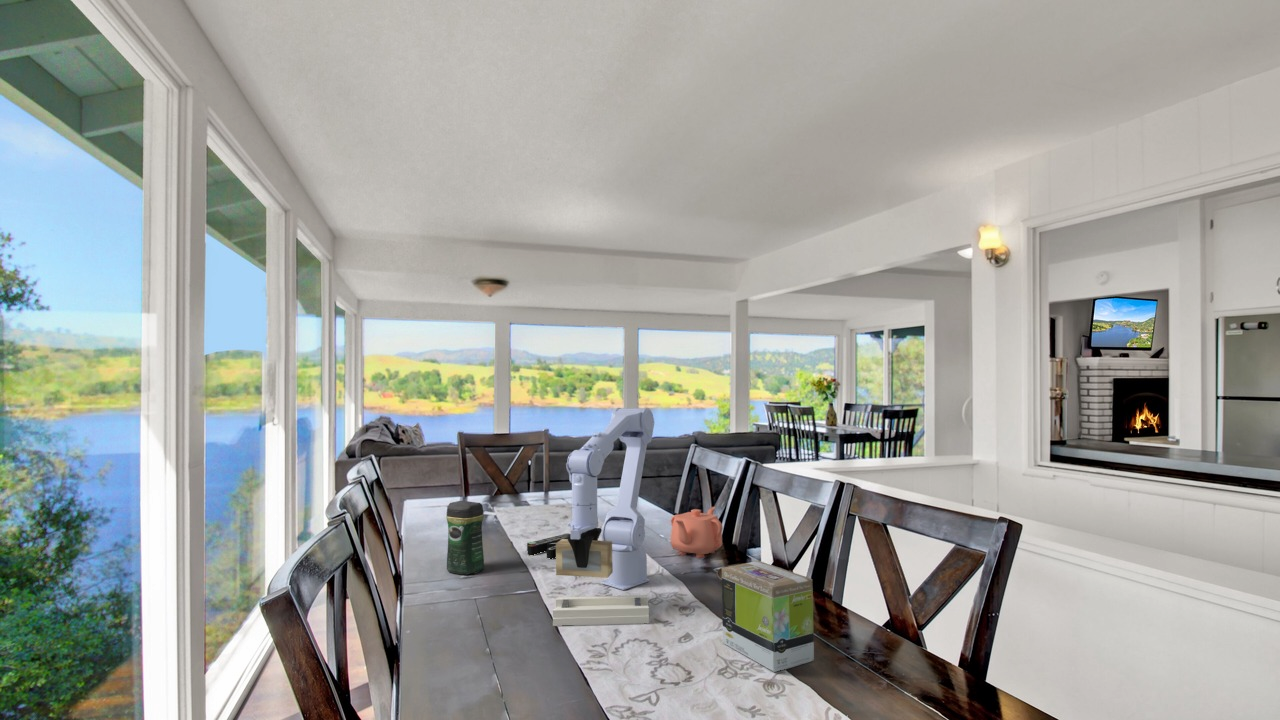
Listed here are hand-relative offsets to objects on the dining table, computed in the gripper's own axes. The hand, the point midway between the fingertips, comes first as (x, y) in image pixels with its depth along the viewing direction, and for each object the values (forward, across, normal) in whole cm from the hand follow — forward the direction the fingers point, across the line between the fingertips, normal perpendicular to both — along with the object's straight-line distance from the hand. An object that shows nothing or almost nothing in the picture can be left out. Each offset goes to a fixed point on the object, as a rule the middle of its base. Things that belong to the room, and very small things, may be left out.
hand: (585, 564), depth 143 cm
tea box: (+10, +16, +40) cm, 45 cm away
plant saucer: (+10, -22, +36) cm, 43 cm away
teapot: (+10, -48, +19) cm, 52 cm away
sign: (+10, -40, -14) cm, 44 cm away
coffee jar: (+10, -21, -40) cm, 46 cm away
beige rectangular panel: (+2, 0, 0) cm, 2 cm away
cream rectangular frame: (+10, +5, +5) cm, 12 cm away
